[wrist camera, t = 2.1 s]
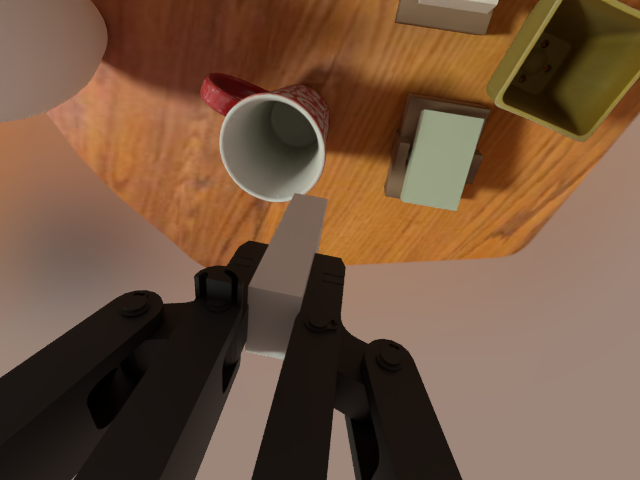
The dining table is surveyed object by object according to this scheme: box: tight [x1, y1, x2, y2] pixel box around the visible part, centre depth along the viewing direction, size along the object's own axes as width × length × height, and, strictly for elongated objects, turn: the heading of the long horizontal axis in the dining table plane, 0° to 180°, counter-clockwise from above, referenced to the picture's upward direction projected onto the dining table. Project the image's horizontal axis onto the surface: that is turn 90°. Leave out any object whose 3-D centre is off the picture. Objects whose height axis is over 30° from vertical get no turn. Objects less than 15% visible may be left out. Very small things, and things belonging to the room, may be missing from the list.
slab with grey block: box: [384, 93, 491, 199], centre depth 36 cm, size 11×8×5 cm
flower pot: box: [486, 0, 640, 142], centre depth 28 cm, size 9×9×9 cm
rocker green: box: [400, 110, 484, 211], centre depth 33 cm, size 9×6×2 cm, turn 173°
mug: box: [200, 73, 330, 202], centre depth 32 cm, size 13×9×14 cm
